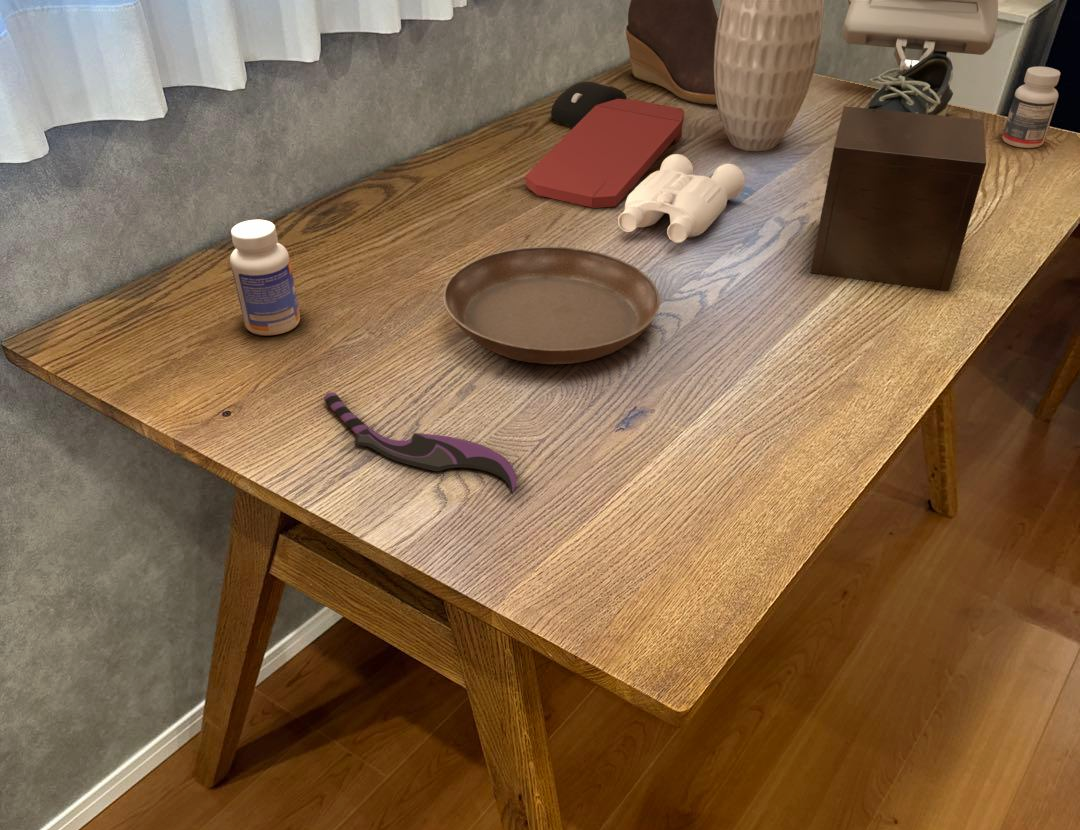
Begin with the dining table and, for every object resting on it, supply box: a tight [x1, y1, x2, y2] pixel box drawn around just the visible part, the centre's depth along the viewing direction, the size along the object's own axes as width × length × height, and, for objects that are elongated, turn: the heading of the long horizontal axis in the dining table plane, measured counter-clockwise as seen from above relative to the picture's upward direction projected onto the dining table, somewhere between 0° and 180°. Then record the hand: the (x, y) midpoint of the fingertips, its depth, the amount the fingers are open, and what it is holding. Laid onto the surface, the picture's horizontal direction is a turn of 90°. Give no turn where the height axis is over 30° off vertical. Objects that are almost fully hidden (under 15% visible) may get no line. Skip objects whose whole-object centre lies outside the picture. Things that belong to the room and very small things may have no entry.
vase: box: [714, 0, 825, 152], centre depth 125 cm, size 13×13×28 cm
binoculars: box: [617, 153, 746, 244], centre depth 115 cm, size 10×16×5 cm, turn 153°
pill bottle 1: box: [229, 219, 301, 336], centre depth 96 cm, size 5×5×10 cm
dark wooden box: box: [809, 105, 987, 292], centre depth 105 cm, size 14×12×13 cm
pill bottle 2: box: [1001, 66, 1061, 149], centre depth 132 cm, size 5×5×9 cm
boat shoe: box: [864, 53, 954, 116], centre depth 134 cm, size 26×10×8 cm, turn 139°
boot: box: [625, 0, 718, 105], centre depth 143 cm, size 9×24×20 cm, turn 47°
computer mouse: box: [550, 81, 628, 128], centre depth 141 cm, size 8×12×4 cm, turn 139°
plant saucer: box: [442, 246, 661, 365], centre depth 98 cm, size 21×21×3 cm
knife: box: [323, 391, 518, 493], centre depth 84 cm, size 21×1×5 cm
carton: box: [524, 98, 685, 209], centre depth 128 cm, size 12×5×25 cm
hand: (908, 75), depth 142 cm, fingers closed
